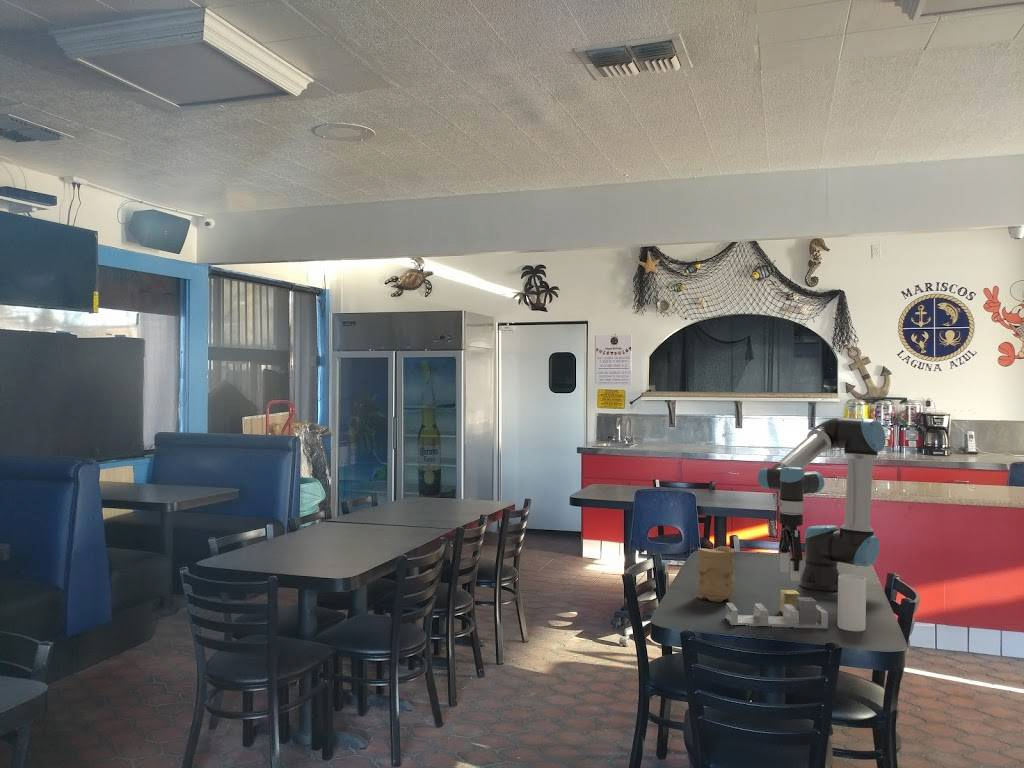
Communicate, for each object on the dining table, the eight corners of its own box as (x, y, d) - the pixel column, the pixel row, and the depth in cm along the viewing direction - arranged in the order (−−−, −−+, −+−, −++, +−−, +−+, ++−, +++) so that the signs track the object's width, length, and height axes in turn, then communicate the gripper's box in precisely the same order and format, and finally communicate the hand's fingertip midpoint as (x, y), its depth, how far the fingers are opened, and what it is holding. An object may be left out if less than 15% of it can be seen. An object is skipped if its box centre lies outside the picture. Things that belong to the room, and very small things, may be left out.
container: (690, 596, 304) (691, 546, 304) (719, 593, 309) (719, 544, 309) (711, 605, 293) (712, 553, 293) (741, 602, 298) (741, 551, 298)
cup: (832, 624, 272) (833, 574, 272) (857, 623, 272) (858, 574, 272) (845, 631, 264) (845, 580, 263) (870, 631, 264) (871, 580, 264)
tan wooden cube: (795, 610, 287) (795, 590, 287) (799, 614, 282) (799, 593, 282) (780, 610, 287) (780, 589, 287) (784, 614, 282) (784, 593, 282)
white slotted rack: (818, 620, 275) (819, 596, 275) (827, 628, 266) (828, 603, 266) (725, 617, 277) (726, 593, 277) (731, 625, 268) (731, 600, 268)
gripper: (770, 507, 297) (769, 567, 297) (789, 518, 272) (788, 584, 272) (792, 508, 297) (790, 568, 297) (813, 519, 272) (812, 584, 272)
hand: (789, 576), depth 285 cm, fingers open, 13 cm apart
